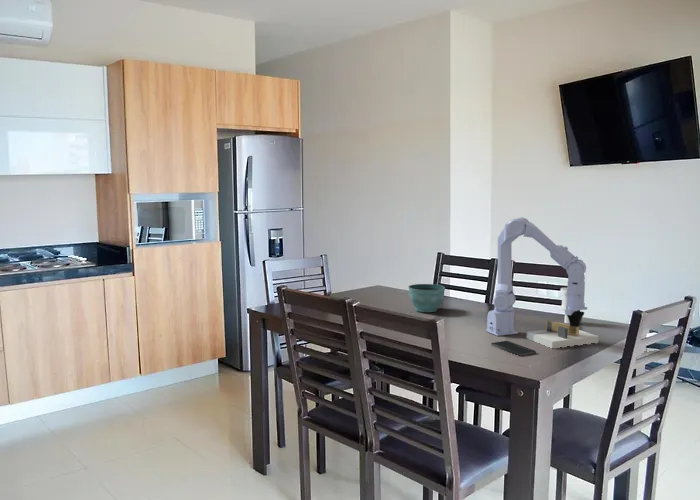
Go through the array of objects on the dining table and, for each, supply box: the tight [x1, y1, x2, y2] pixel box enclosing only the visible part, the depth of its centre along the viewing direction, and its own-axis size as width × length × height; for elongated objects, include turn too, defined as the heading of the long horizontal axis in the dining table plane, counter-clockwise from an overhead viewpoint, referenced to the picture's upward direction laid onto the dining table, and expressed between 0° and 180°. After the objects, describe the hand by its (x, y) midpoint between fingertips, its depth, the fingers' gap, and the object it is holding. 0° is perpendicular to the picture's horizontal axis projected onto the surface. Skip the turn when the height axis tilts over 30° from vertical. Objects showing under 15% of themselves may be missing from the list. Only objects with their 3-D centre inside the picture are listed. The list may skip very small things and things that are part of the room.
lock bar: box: [545, 319, 580, 336], centre depth 207 cm, size 12×3×3 cm, turn 40°
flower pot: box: [408, 283, 446, 313], centre depth 255 cm, size 16×16×11 cm
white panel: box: [526, 326, 600, 349], centre depth 207 cm, size 20×14×6 cm
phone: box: [490, 340, 537, 357], centre depth 196 cm, size 8×1×15 cm
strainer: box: [559, 287, 570, 325], centre depth 233 cm, size 7×7×15 cm
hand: (574, 331), depth 206 cm, fingers closed, pressing on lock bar
